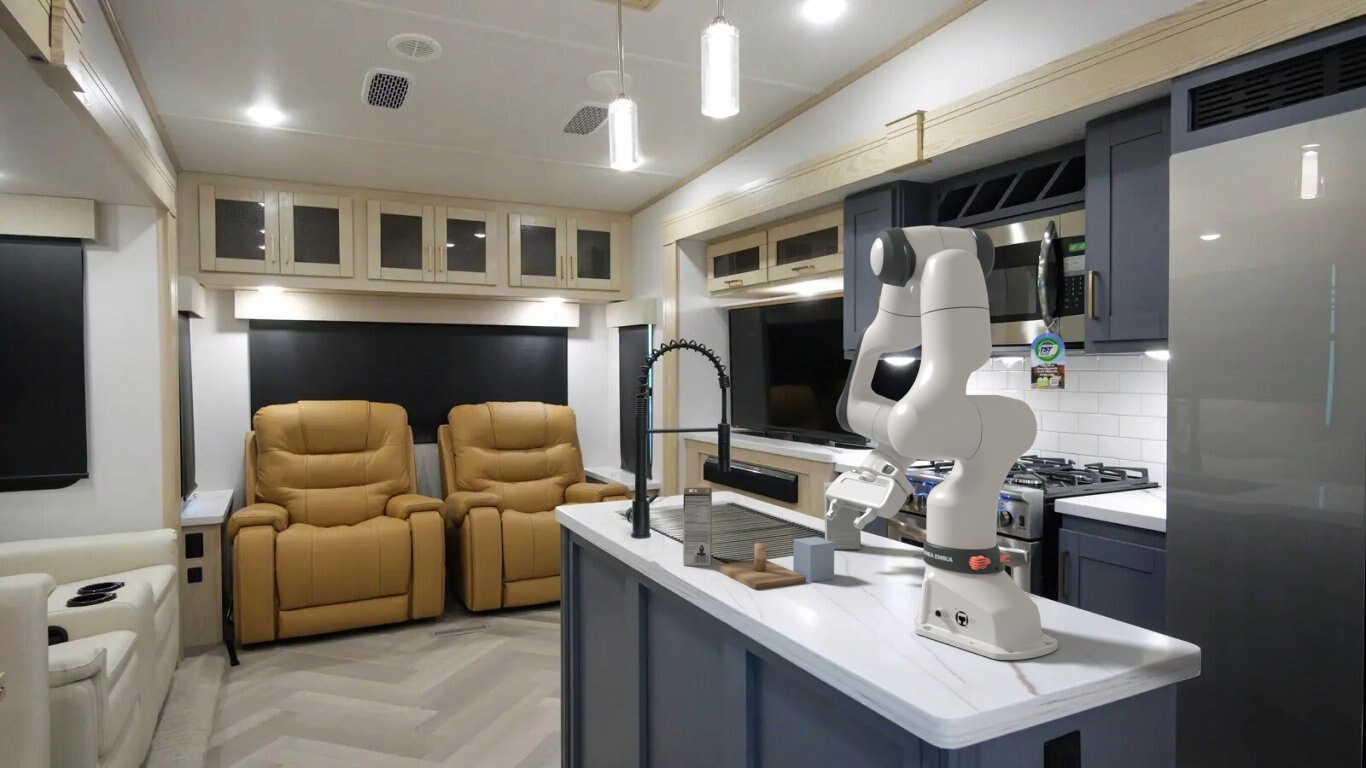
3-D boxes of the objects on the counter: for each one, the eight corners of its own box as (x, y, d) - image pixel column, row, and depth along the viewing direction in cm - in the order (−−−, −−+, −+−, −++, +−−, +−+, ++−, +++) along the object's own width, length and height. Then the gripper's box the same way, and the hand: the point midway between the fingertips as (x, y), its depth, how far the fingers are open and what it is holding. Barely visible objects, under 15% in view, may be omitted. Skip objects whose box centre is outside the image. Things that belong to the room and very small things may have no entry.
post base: (806, 582, 153) (806, 549, 153) (755, 589, 148) (755, 555, 148) (764, 564, 168) (764, 534, 168) (716, 570, 163) (716, 539, 162)
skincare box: (857, 544, 188) (857, 481, 187) (861, 551, 181) (861, 485, 180) (822, 543, 189) (823, 480, 188) (825, 550, 181) (825, 484, 181)
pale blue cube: (834, 578, 157) (834, 542, 156) (810, 582, 154) (810, 545, 154) (816, 571, 162) (817, 536, 162) (793, 574, 159) (793, 539, 159)
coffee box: (683, 556, 175) (683, 486, 175) (711, 556, 175) (711, 487, 175) (682, 566, 166) (683, 493, 166) (711, 566, 166) (712, 493, 166)
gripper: (841, 459, 173) (805, 505, 169) (903, 470, 155) (865, 522, 151) (857, 477, 176) (821, 523, 172) (920, 491, 157) (882, 542, 153)
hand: (842, 522), depth 161 cm, fingers open, 8 cm apart
